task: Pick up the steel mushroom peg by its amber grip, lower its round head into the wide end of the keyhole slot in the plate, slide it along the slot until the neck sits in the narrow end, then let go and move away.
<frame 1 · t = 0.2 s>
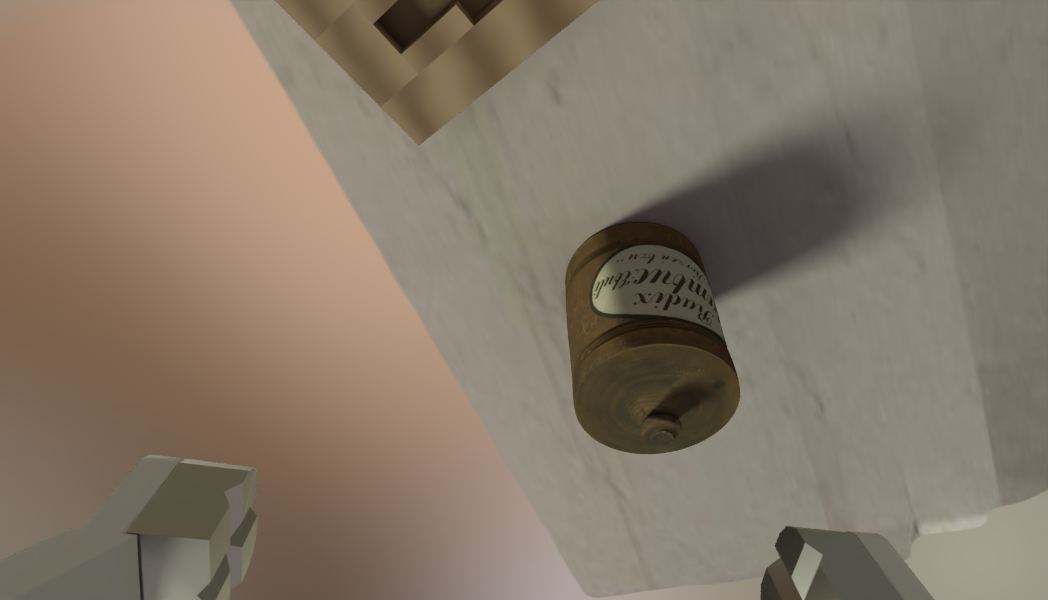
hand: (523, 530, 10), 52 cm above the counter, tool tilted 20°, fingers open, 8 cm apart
wooden container: (633, 276, 72), on the counter
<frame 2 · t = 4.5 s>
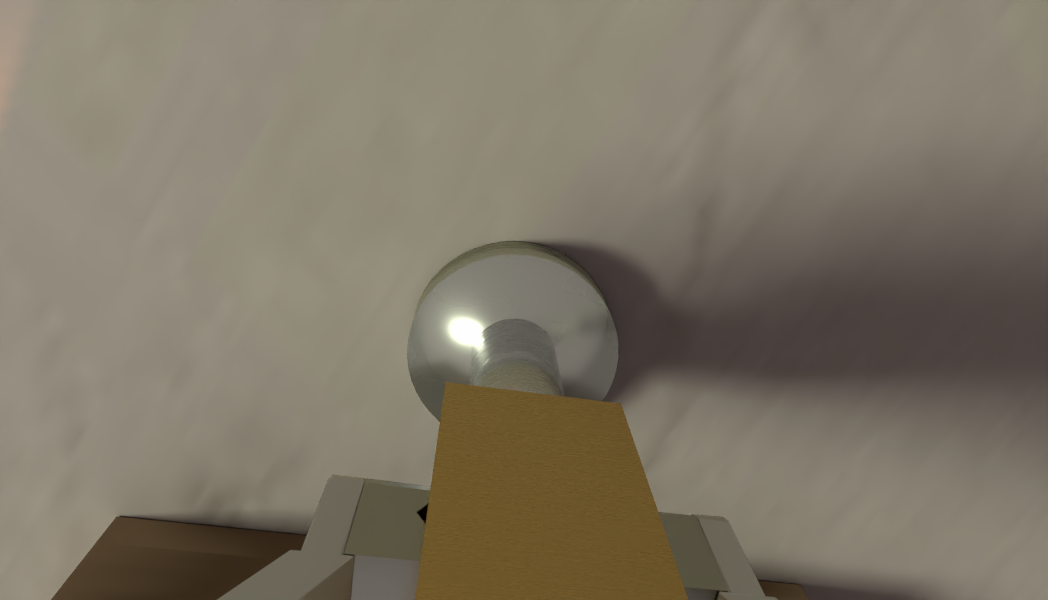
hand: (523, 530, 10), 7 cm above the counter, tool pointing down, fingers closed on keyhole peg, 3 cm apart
keyhole peg: (512, 336, 17), on the counter, touching gripper
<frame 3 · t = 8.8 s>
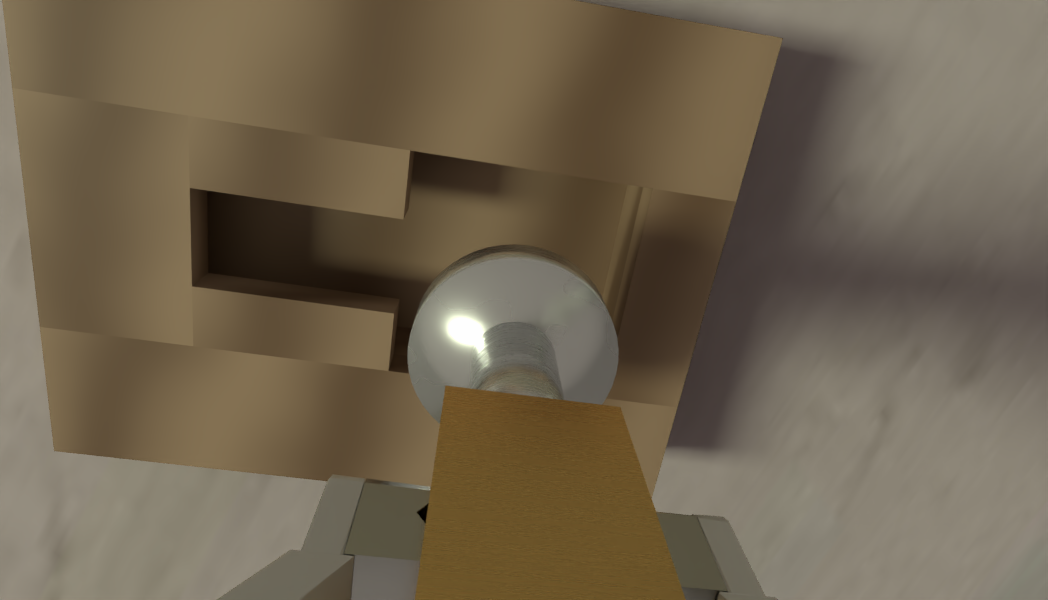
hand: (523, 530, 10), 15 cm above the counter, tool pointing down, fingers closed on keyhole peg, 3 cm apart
keyhole peg: (512, 338, 17), point 8 cm above the counter, touching gripper
keyhole plate: (401, 225, 24), on the counter
when the fingers open (8 cm above the counter, at t = 13.4 s): keyhole peg stays where it is, resting on keyhole plate.
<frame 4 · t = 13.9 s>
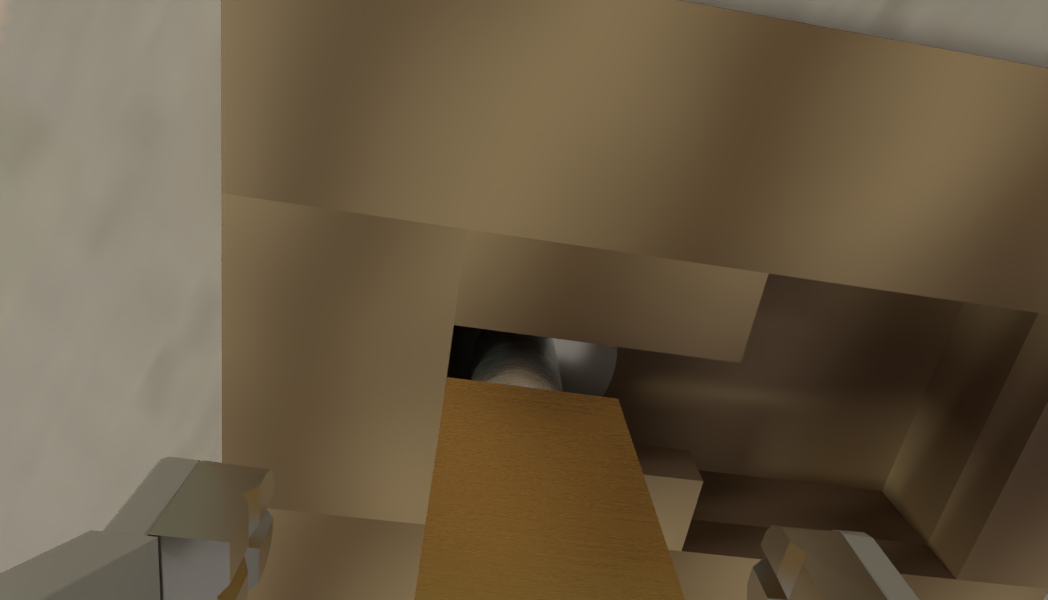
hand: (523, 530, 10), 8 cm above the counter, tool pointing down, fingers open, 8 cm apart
keyhole peg: (513, 334, 17), point 1 cm above the counter, touching keyhole plate
keyhole plate: (654, 336, 18), on the counter
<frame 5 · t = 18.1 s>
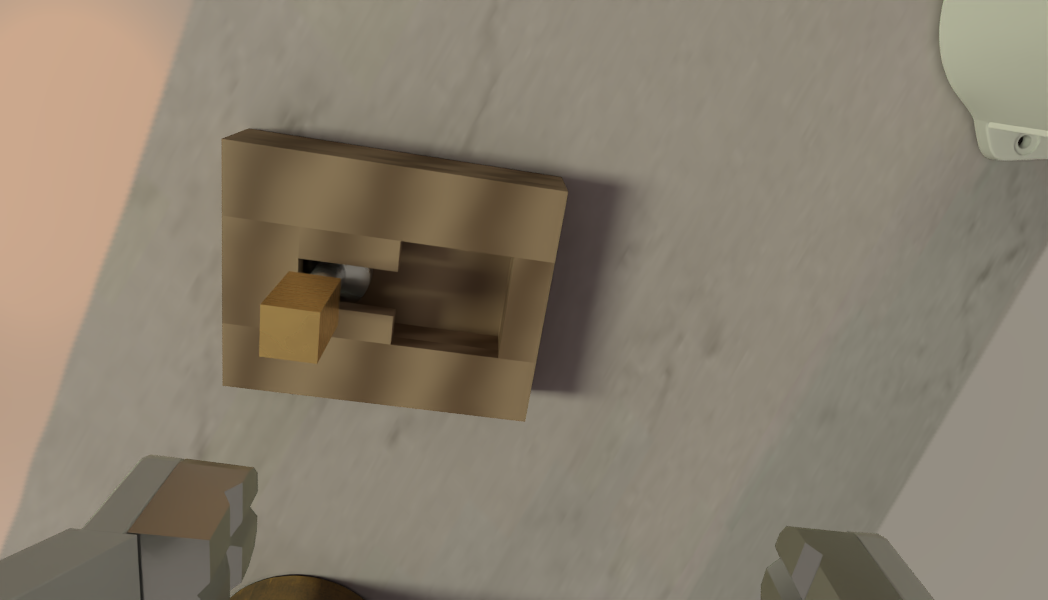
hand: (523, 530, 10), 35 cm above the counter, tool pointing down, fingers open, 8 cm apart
keyhole peg: (334, 267, 44), point 1 cm above the counter, touching keyhole plate
keyhole plate: (397, 270, 45), on the counter
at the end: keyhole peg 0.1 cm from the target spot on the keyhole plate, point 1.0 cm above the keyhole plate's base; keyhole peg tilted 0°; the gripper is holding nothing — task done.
